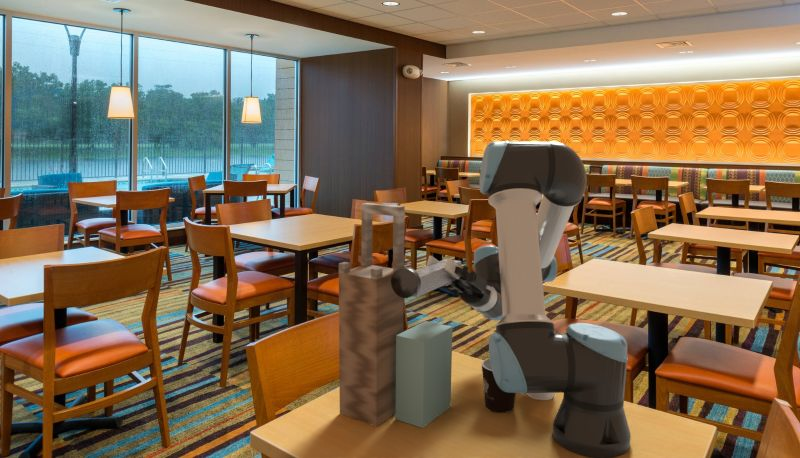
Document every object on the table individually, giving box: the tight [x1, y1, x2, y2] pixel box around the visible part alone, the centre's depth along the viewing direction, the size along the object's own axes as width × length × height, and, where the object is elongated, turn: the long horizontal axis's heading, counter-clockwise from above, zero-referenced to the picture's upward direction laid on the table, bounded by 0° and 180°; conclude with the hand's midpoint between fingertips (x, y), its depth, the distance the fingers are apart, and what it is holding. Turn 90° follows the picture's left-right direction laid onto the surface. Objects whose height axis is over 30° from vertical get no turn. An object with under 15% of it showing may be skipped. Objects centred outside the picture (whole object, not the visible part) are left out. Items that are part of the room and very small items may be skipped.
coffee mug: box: [481, 357, 517, 414], centre depth 136 cm, size 12×9×10 cm
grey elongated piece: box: [391, 258, 462, 299], centre depth 129 cm, size 6×21×6 cm, turn 146°
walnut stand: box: [338, 202, 406, 427], centre depth 129 cm, size 10×10×46 cm
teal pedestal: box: [394, 320, 453, 429], centre depth 130 cm, size 7×12×19 cm, turn 146°
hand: (438, 262), depth 131 cm, fingers closed on grey elongated piece, 4 cm apart
